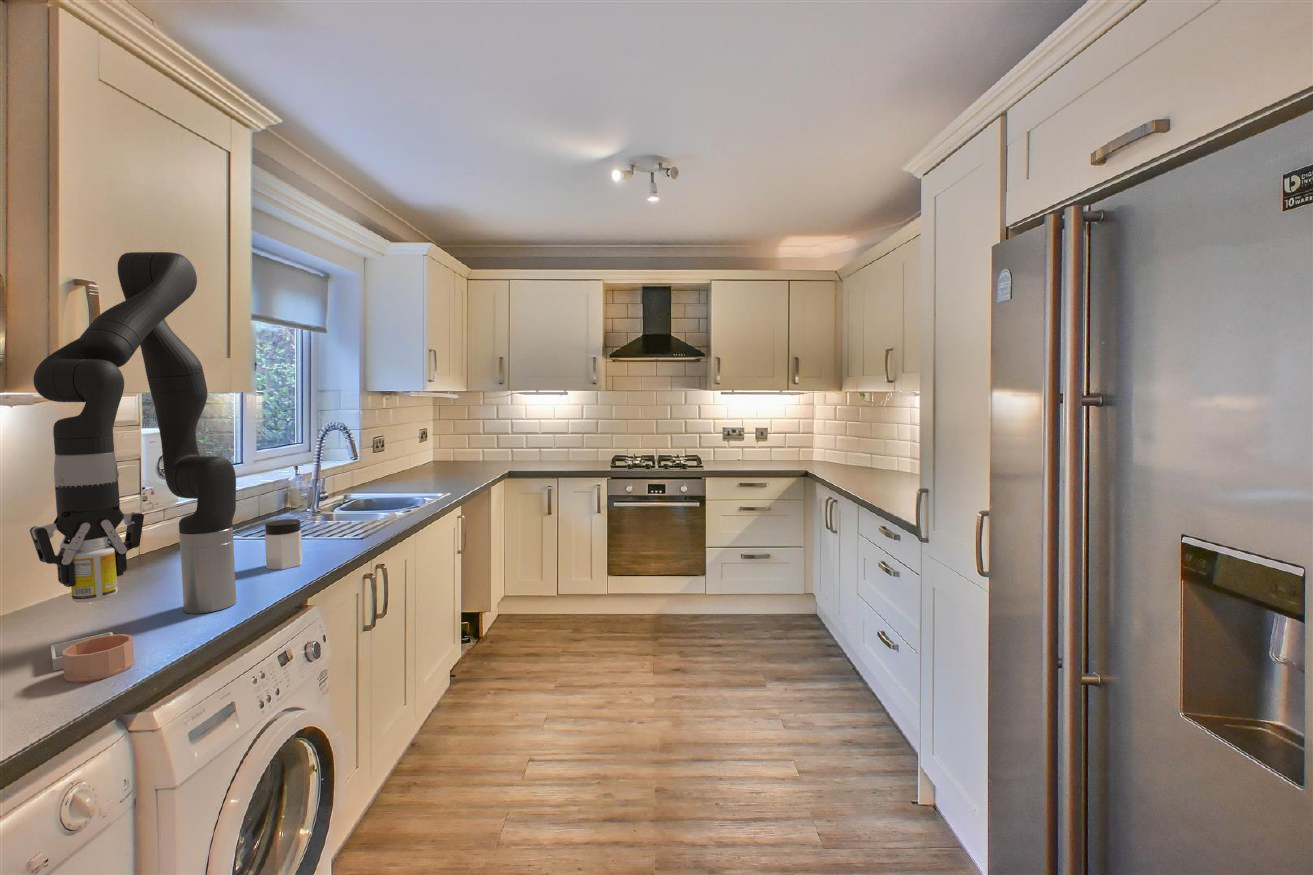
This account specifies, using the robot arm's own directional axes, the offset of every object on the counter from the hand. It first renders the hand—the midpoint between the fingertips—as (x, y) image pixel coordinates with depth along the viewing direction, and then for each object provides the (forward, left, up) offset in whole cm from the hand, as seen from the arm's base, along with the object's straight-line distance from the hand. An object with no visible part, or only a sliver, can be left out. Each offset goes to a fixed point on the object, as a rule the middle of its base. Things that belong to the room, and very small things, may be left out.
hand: (94, 580), depth 97 cm
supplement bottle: (0, 0, -3) cm, 3 cm away
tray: (-7, -6, -16) cm, 18 cm away
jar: (-61, +7, -16) cm, 63 cm away
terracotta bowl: (0, 0, -16) cm, 16 cm away
